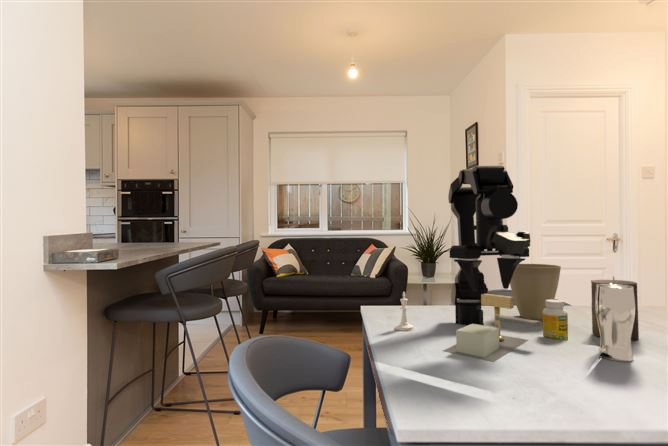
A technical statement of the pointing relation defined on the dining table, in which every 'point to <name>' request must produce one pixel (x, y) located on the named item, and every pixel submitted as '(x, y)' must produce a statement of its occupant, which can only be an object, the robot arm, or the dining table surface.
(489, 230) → the robot arm
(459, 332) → the cover
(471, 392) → the dining table surface
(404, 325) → the chess piece
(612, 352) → the silver metal tumbler
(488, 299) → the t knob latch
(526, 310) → the plant pot
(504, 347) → the base
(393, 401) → the dining table surface
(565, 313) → the supplement bottle
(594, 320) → the pillar candle
